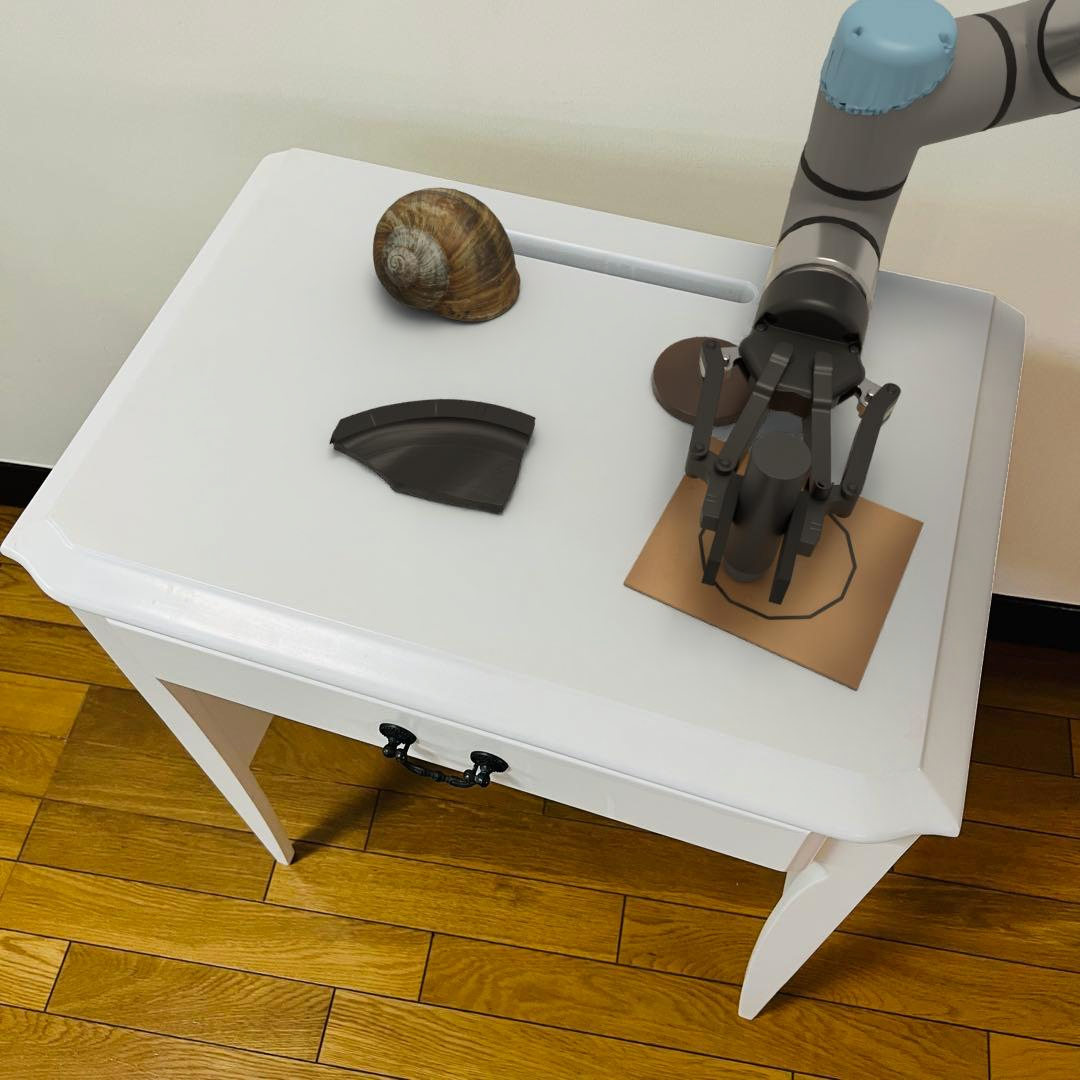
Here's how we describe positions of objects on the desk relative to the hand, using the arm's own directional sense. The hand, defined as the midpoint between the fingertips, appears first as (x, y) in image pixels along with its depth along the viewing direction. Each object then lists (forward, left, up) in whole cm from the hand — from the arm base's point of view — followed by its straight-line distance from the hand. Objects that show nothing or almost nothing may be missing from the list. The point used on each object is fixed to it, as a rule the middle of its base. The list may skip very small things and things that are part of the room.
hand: (745, 581), depth 61 cm
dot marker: (+1, -5, -7) cm, 9 cm away
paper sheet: (-1, -7, -7) cm, 10 cm away
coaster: (+9, -19, -7) cm, 22 cm away
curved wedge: (+23, -4, -7) cm, 25 cm away
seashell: (+31, -18, -7) cm, 37 cm away
